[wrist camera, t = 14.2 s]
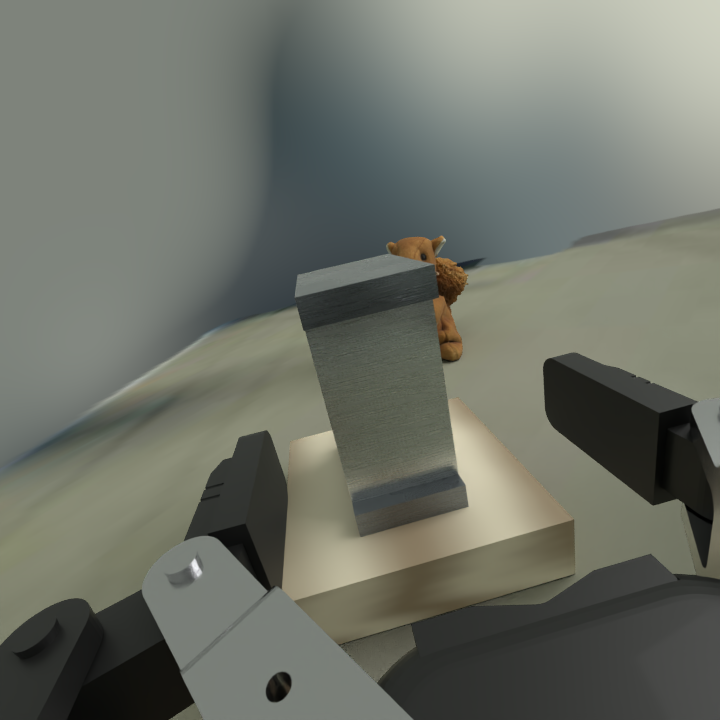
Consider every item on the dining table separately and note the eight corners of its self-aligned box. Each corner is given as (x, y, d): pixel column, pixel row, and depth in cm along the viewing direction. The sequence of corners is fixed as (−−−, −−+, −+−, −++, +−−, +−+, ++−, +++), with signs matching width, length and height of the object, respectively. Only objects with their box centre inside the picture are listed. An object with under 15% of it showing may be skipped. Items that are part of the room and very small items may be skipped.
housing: (419, 425, 24) (388, 253, 20) (468, 506, 17) (434, 264, 13) (343, 445, 24) (297, 274, 20) (360, 537, 16) (294, 297, 13)
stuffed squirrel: (368, 370, 43) (343, 253, 38) (408, 329, 54) (392, 235, 50) (456, 369, 38) (438, 235, 34) (480, 324, 50) (469, 220, 45)
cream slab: (463, 433, 27) (458, 397, 26) (575, 573, 16) (574, 519, 15) (301, 477, 27) (290, 441, 26) (300, 656, 15) (279, 604, 14)
